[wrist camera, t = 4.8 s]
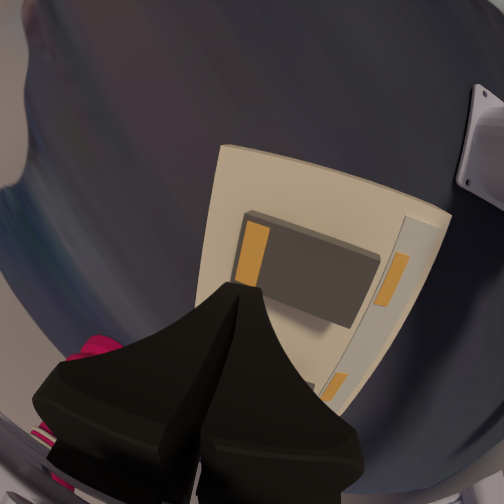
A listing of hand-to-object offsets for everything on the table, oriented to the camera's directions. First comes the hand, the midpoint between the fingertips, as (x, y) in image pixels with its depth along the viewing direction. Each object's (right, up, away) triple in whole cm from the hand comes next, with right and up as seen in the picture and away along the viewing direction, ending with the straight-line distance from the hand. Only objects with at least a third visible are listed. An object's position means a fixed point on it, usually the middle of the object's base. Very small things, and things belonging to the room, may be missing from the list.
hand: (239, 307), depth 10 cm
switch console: (+4, -2, +10) cm, 11 cm away
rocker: (+3, +1, +4) cm, 5 cm away
